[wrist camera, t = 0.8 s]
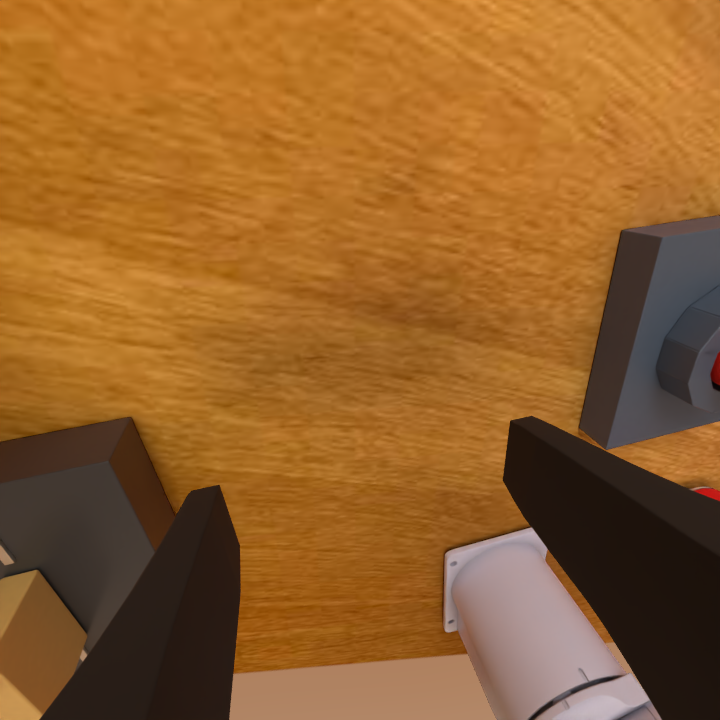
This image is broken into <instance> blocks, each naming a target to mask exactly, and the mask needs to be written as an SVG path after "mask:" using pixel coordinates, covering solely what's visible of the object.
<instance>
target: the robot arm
mask: <svg viewBox="0 0 720 720" xmlns="http://www.w3.org/2000/svg"><path fill="white" fill-rule="evenodd" d="M503 481H504V483H505V485H506V487H507V489H508V490H509V492H510V494H511V496H512V498H513V499H514V501H515V503H516V504H517V506H518V508H519V510H520V511H521V513H522V515H523V516H524V518H525V519H526V520H527V522H528V523H529V524H530V526H531V528H527V529H524V530H520V531H516V532H513V533H509V534H506V535H502V536H499V537H495V538H492V539H488V540H484V541H481V542H477V543H474V544H470V545H467V546H463V547H460V548H456V549H452V550H450V551H448V552H447V553H446V554H445V560H444V611H443V627H444V630H445V631H446V632H453V631H456V630H458V632H459V634H460V636H461V639H462V641H463V643H464V646H465V648H466V650H467V653H468V655H469V657H470V660H471V662H472V664H473V667H474V669H475V671H476V674H477V676H478V678H479V681H480V683H481V686H482V688H483V690H484V692H485V695H486V697H487V700H488V702H489V704H490V707H491V709H492V711H493V713H494V715H495V717H496V719H497V720H720V501H718V500H715V499H713V498H710V497H708V496H705V495H703V494H700V493H698V492H695V491H693V490H690V489H688V488H686V487H683V486H681V485H679V484H676V483H674V482H672V481H669V480H667V479H665V478H662V477H660V476H658V475H656V474H653V473H651V472H649V471H647V470H644V469H642V468H640V467H638V466H636V465H634V464H631V463H629V462H627V461H625V460H623V459H621V458H619V457H617V456H615V455H612V454H610V453H608V452H606V451H604V450H602V449H600V448H598V447H596V446H594V445H592V444H590V443H588V442H586V441H584V440H582V439H580V438H578V437H576V436H574V435H572V434H570V433H568V432H565V431H563V430H561V429H559V428H557V427H555V426H553V425H551V424H549V423H547V422H545V421H542V420H540V419H538V418H535V417H533V416H529V417H525V418H520V419H516V420H511V421H510V427H509V435H508V443H507V451H506V459H505V467H504V475H503ZM547 549H548V550H549V551H550V553H551V554H552V555H553V557H554V558H555V559H556V561H557V562H558V563H559V564H560V566H561V567H562V568H563V570H564V571H565V572H566V574H567V575H568V576H569V578H570V579H571V580H572V582H573V583H574V584H575V586H576V587H577V588H578V590H579V591H580V592H581V594H582V595H583V596H584V598H585V599H586V600H587V602H588V603H589V604H590V606H591V607H592V609H593V610H594V612H595V613H596V614H597V616H598V617H599V619H600V620H601V622H602V623H603V625H604V626H605V628H606V629H607V631H608V633H609V634H610V636H611V637H612V639H613V641H614V642H615V644H616V645H617V647H618V648H619V650H620V652H621V653H622V655H623V656H624V658H625V659H626V661H627V663H628V664H629V666H630V667H631V669H632V671H633V673H634V674H635V676H636V678H637V679H638V681H639V682H640V684H641V686H642V688H643V689H644V690H643V689H642V688H641V686H640V685H639V683H638V682H637V680H636V679H635V678H634V676H633V675H632V674H631V673H628V674H627V673H626V672H625V671H624V669H623V668H622V666H621V665H620V664H619V662H618V661H617V660H616V658H615V657H614V656H613V654H612V653H611V651H610V650H609V648H608V647H607V646H606V644H605V643H604V642H603V640H602V639H601V637H600V636H599V635H598V633H597V632H596V630H595V629H594V628H593V626H592V625H591V624H590V622H589V621H588V619H587V618H586V617H585V615H584V614H583V612H582V611H581V610H580V608H579V607H578V606H577V604H576V603H575V601H574V600H573V599H572V597H571V596H570V594H569V593H568V592H567V590H566V589H565V588H564V586H563V585H562V583H561V582H560V581H559V579H558V578H557V577H556V575H555V574H554V572H553V571H552V570H551V568H550V567H549V565H548V564H547V563H546V561H545V558H546V553H547ZM239 604H240V545H239V542H238V539H237V536H236V533H235V530H234V527H233V524H232V521H231V518H230V515H229V512H228V509H227V506H226V503H225V500H224V497H223V494H222V491H221V488H220V485H216V486H211V487H207V488H202V489H198V490H193V491H191V492H190V493H189V494H188V496H187V497H186V499H185V501H184V503H183V504H182V506H181V508H180V510H179V512H178V513H177V515H176V517H175V519H174V520H173V522H172V524H171V526H170V527H169V529H168V531H167V533H166V534H165V536H164V538H163V539H162V541H161V543H160V545H159V546H158V548H157V550H156V551H155V553H154V555H153V556H152V558H151V559H150V561H149V563H148V564H147V566H146V568H145V569H144V571H143V572H142V574H141V576H140V577H139V579H138V580H137V582H136V584H135V585H134V587H133V588H132V590H131V592H130V593H129V595H128V596H127V598H126V599H125V601H124V602H123V604H122V605H121V607H120V608H119V610H118V611H117V613H116V614H115V616H114V617H113V619H112V620H111V622H110V623H109V625H108V626H107V627H106V629H105V630H104V632H103V633H102V635H101V636H100V638H99V639H98V641H97V642H96V644H95V645H94V647H93V648H92V649H91V651H90V652H89V654H88V655H87V656H86V658H85V659H84V661H83V662H82V663H81V665H80V666H79V668H78V669H77V670H76V672H75V673H74V674H73V676H72V677H71V678H70V680H69V681H68V682H67V684H66V685H65V686H64V688H63V689H62V690H61V692H60V693H59V694H58V696H57V697H56V698H55V700H54V701H53V702H52V704H51V705H50V706H49V708H48V709H47V710H46V711H45V713H44V714H43V715H42V717H41V718H40V719H39V720H229V713H230V703H231V692H232V681H233V670H234V660H235V649H236V638H237V627H238V615H239Z"/></svg>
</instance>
